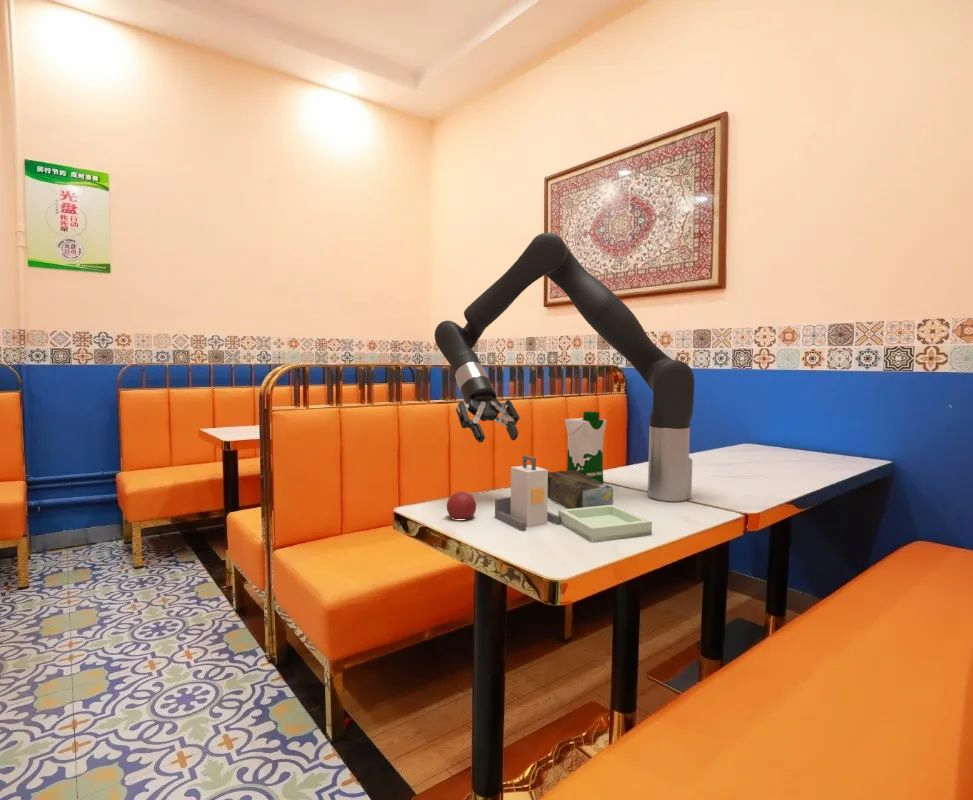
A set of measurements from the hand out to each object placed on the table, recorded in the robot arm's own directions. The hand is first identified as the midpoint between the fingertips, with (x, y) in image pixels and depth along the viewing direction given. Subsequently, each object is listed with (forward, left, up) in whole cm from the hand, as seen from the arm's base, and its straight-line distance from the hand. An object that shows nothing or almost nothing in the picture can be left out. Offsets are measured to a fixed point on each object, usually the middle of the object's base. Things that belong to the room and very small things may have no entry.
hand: (499, 439), depth 119 cm
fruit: (+10, +5, -16) cm, 19 cm away
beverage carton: (-18, +3, -16) cm, 25 cm away
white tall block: (-2, +12, -16) cm, 19 cm away
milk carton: (-28, -11, -16) cm, 34 cm away
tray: (-14, +21, -15) cm, 29 cm away
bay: (-2, +12, -16) cm, 19 cm away
